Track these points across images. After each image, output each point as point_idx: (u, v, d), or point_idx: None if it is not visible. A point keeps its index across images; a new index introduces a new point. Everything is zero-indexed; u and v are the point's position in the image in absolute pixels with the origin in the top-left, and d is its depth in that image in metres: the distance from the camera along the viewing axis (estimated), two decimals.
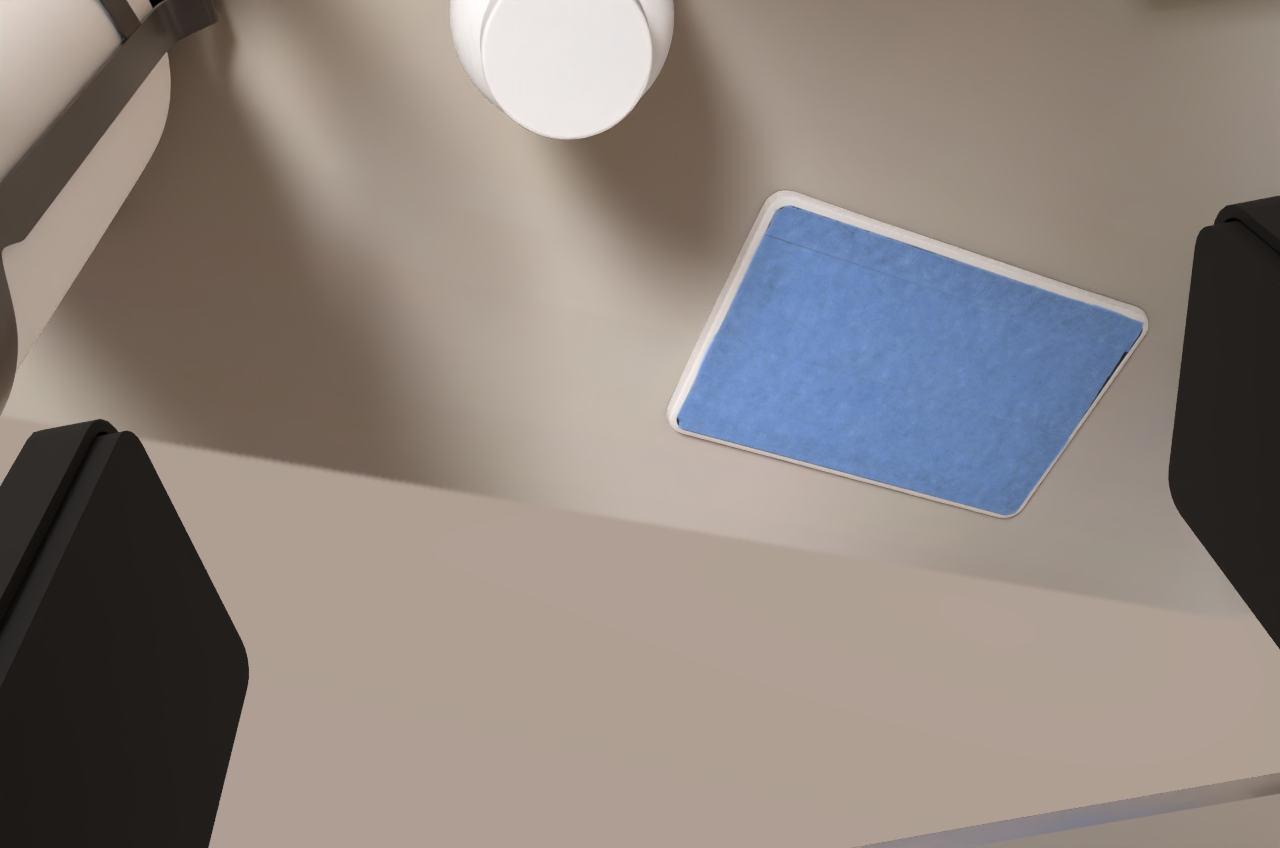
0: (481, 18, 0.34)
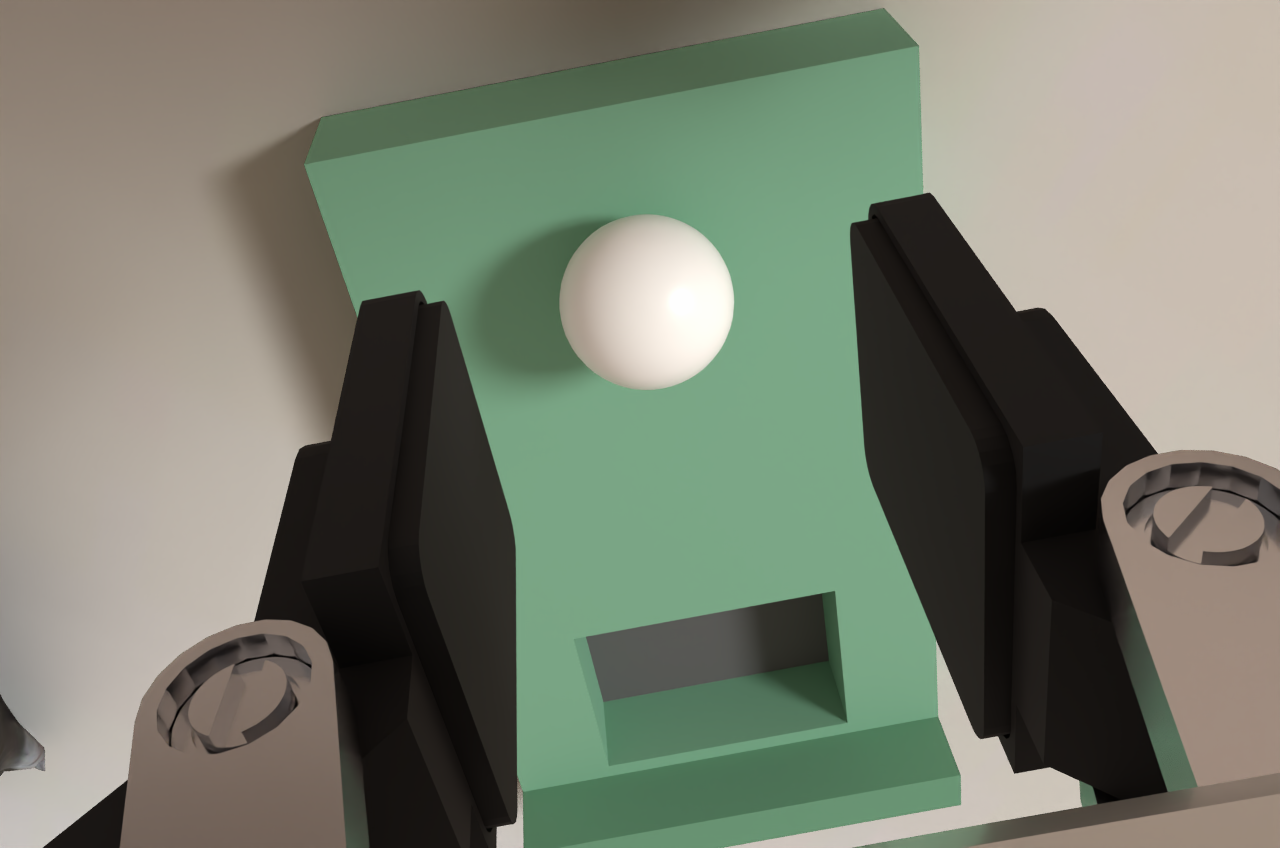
0: None
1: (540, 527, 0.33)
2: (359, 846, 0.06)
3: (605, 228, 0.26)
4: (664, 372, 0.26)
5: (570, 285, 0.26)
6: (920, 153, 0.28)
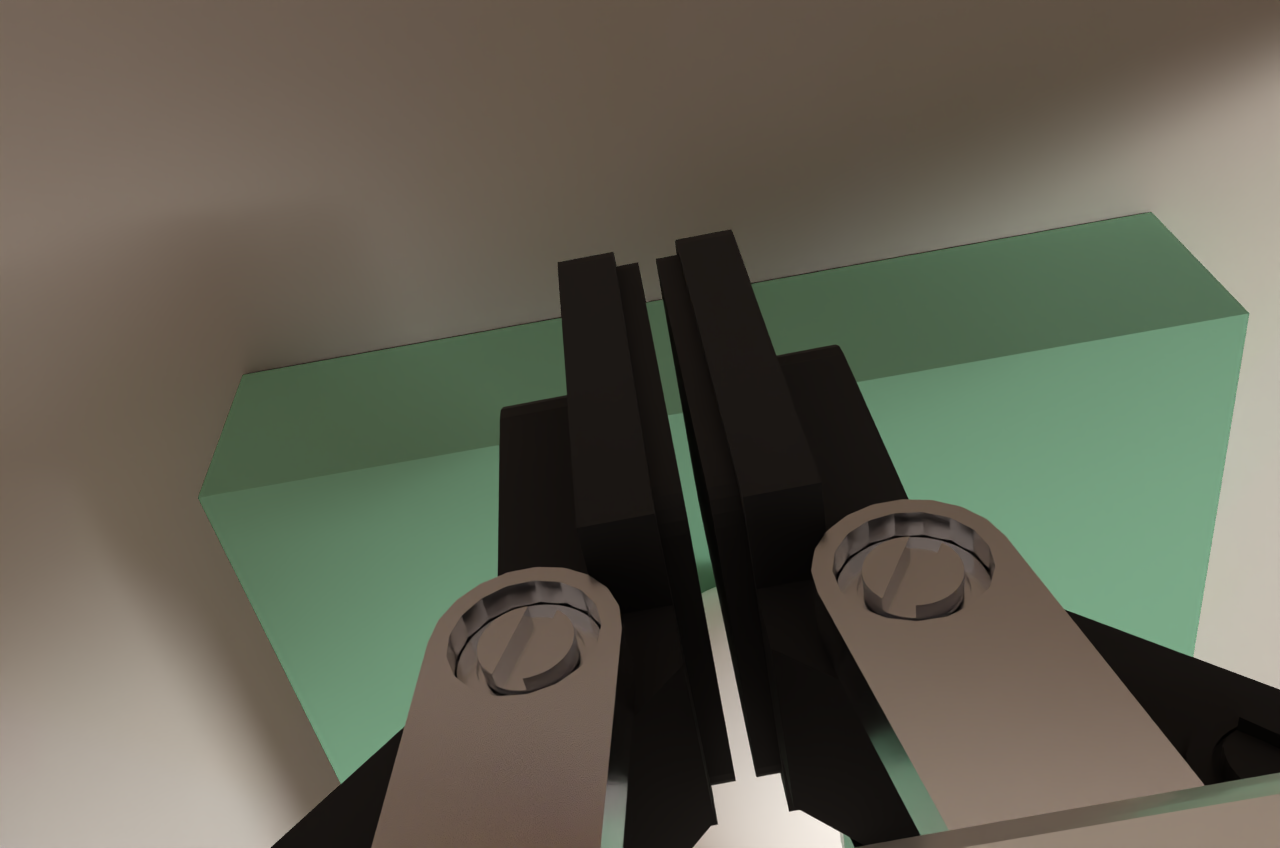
0: None
1: None
2: (614, 829, 0.06)
3: None
4: None
5: None
6: (1221, 466, 0.17)
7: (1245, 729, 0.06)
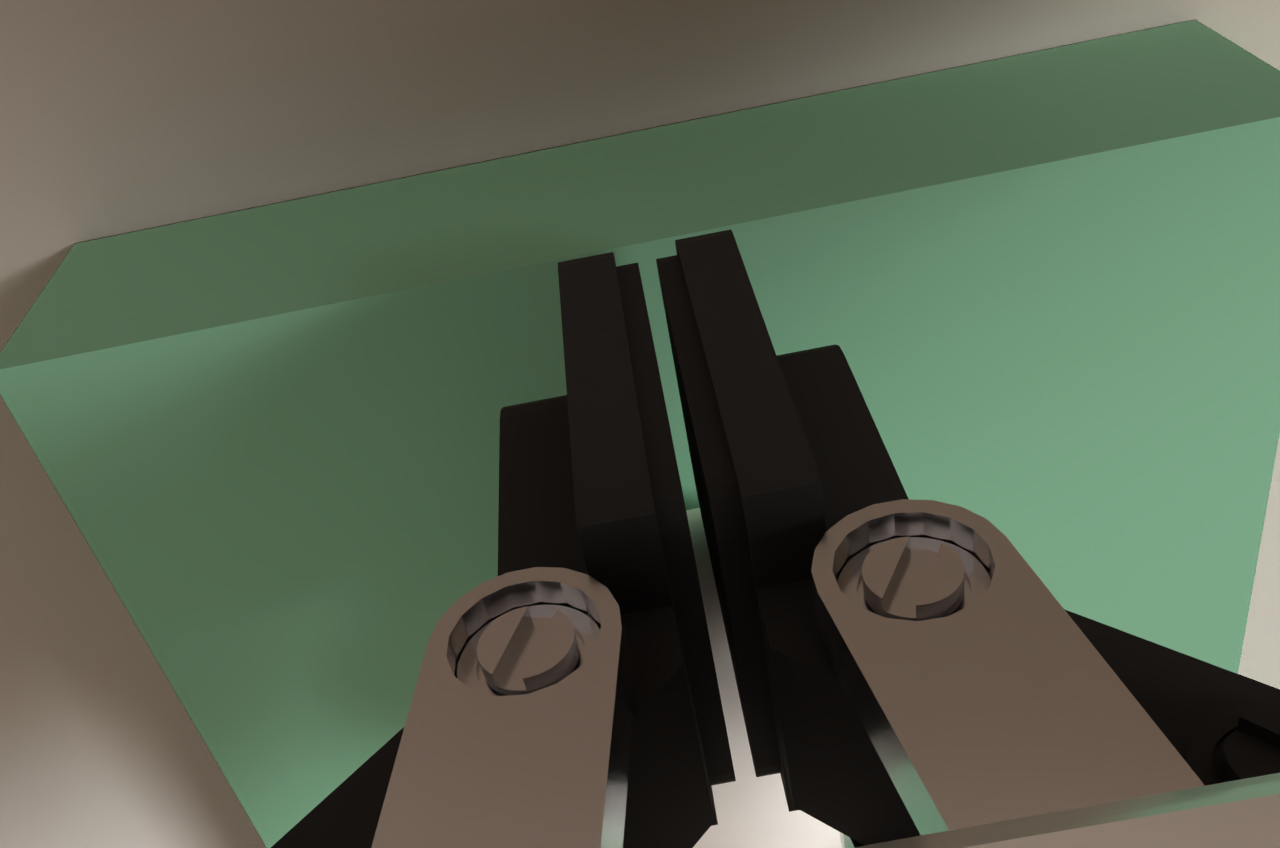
0: None
1: None
2: (614, 828, 0.06)
3: None
4: None
5: None
6: None
7: (1245, 730, 0.06)
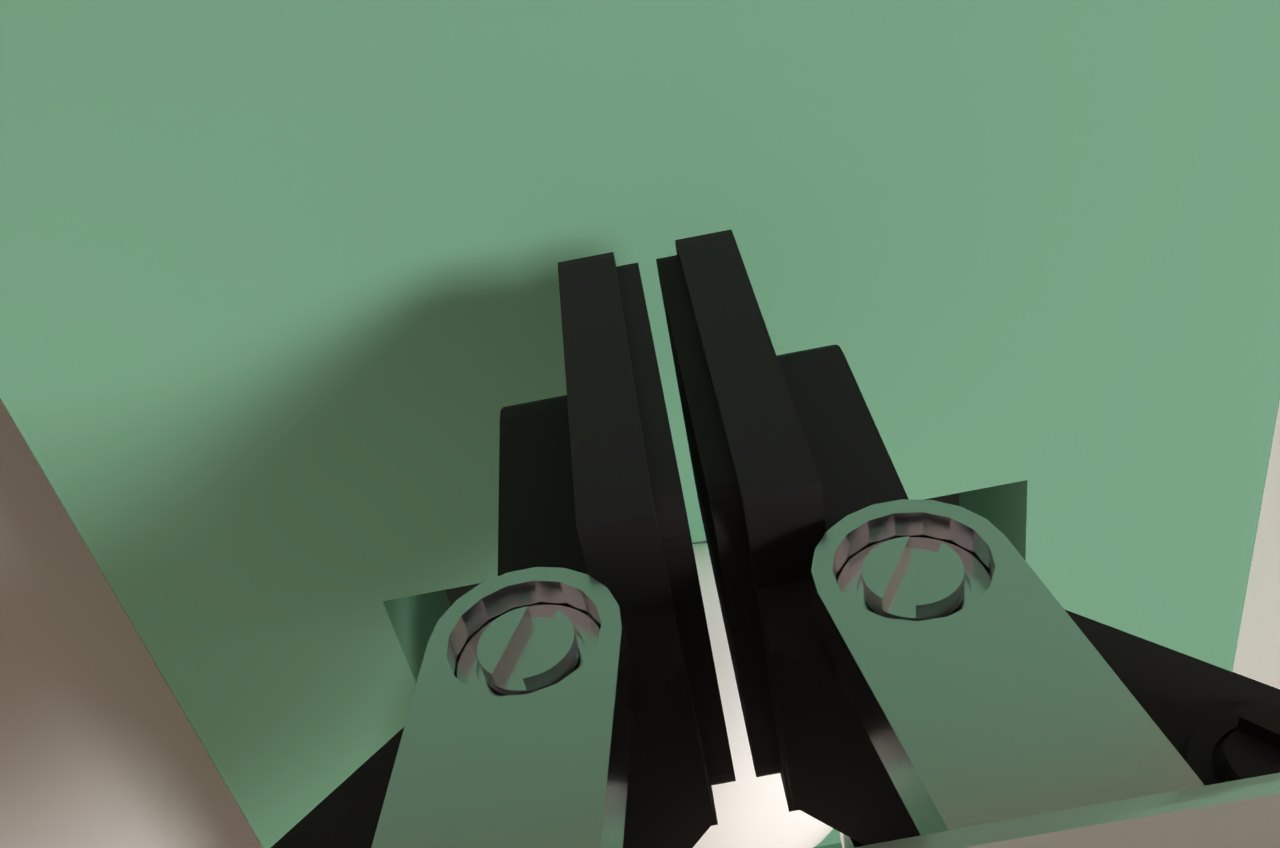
0: None
1: (249, 286, 0.12)
2: (614, 828, 0.06)
3: None
4: None
5: None
6: None
7: (1245, 730, 0.06)
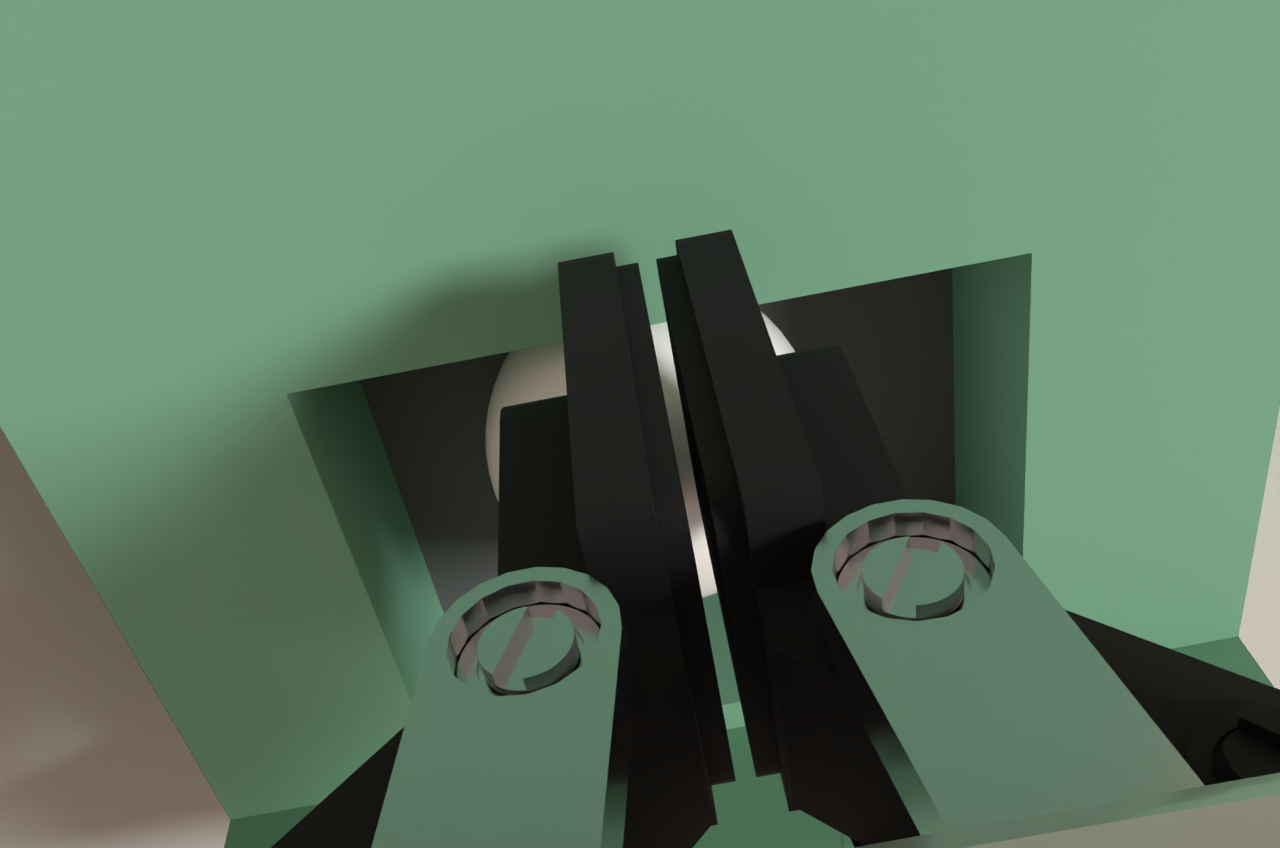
0: None
1: None
2: (614, 828, 0.06)
3: None
4: None
5: None
6: None
7: (1246, 730, 0.06)
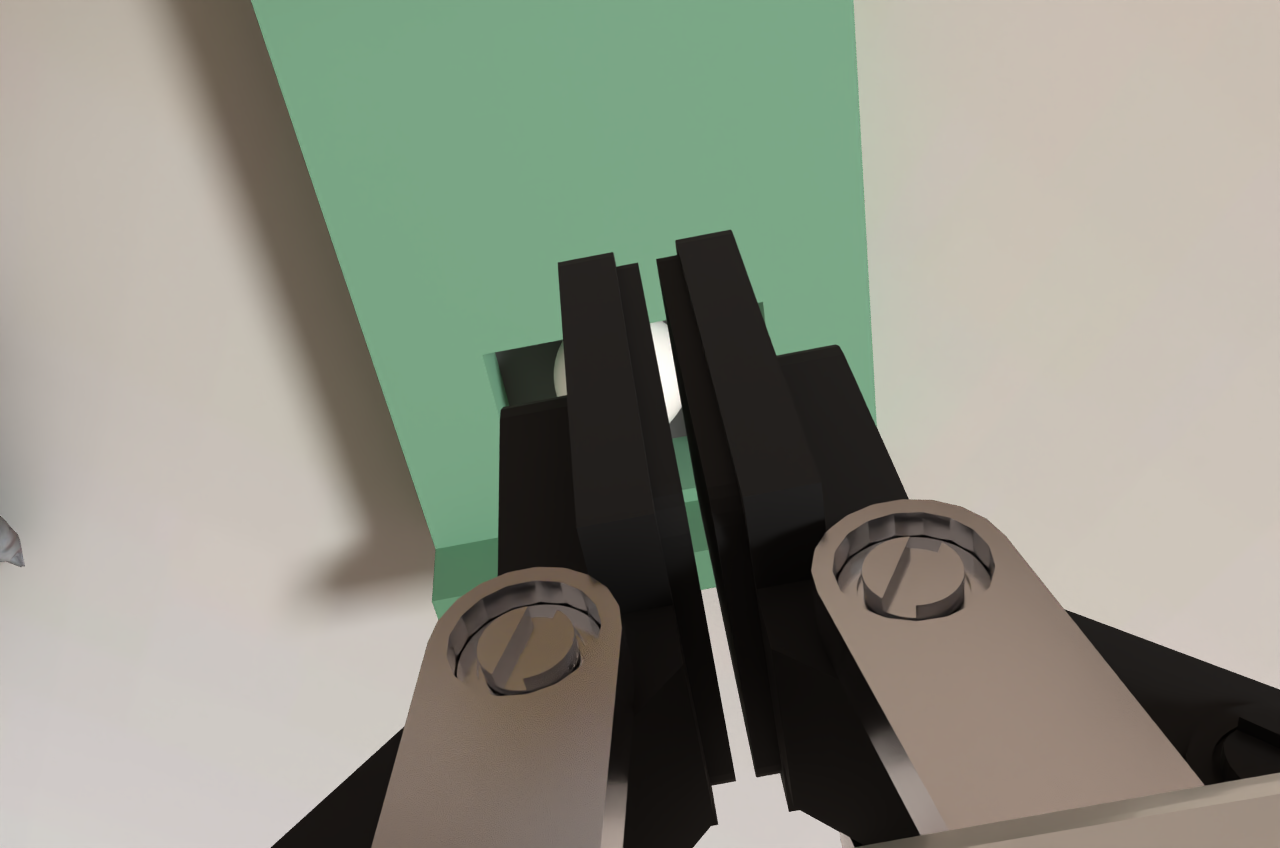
0: None
1: (440, 209, 0.31)
2: (614, 828, 0.06)
3: None
4: None
5: None
6: None
7: (1245, 730, 0.06)
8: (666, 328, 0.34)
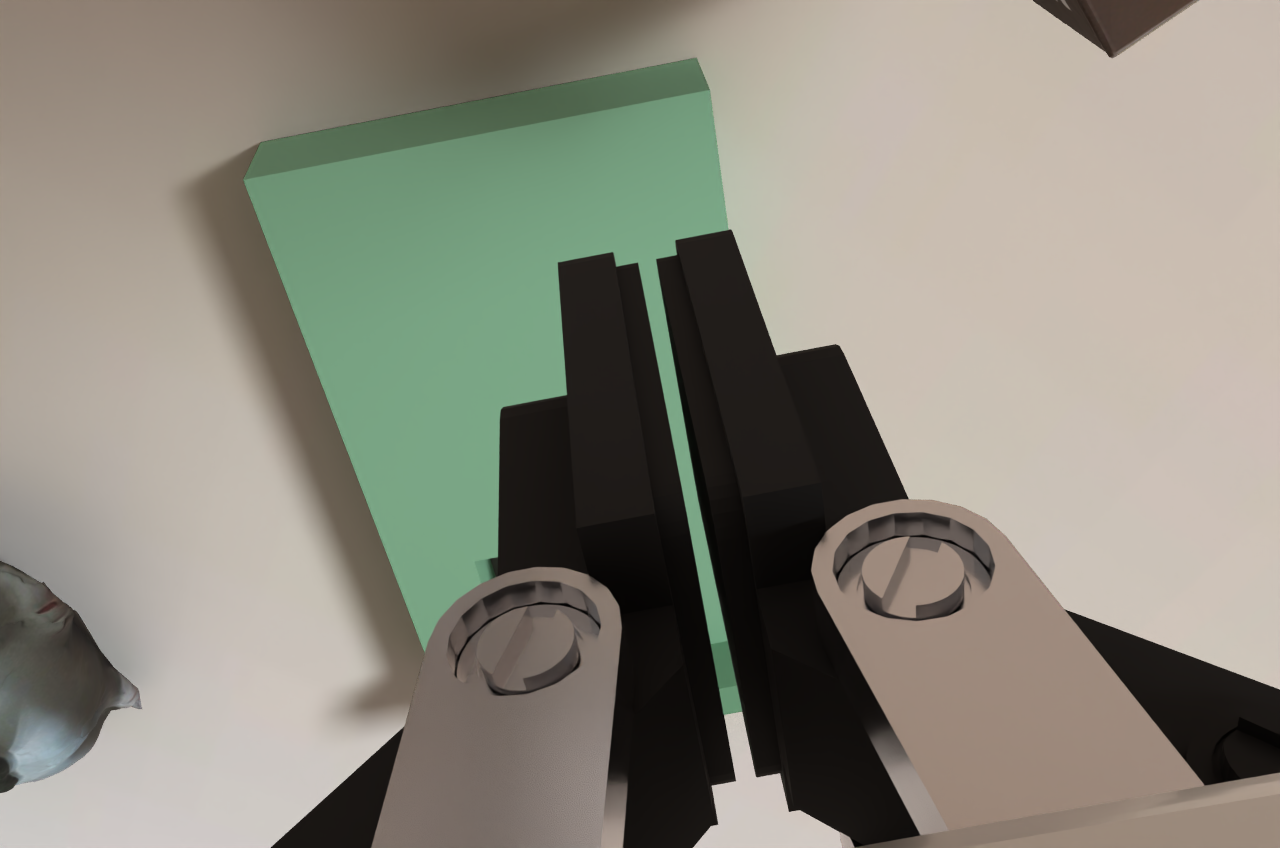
0: None
1: (441, 467, 0.42)
2: (615, 829, 0.06)
3: None
4: None
5: None
6: (719, 171, 0.36)
7: (1245, 730, 0.06)
8: None
